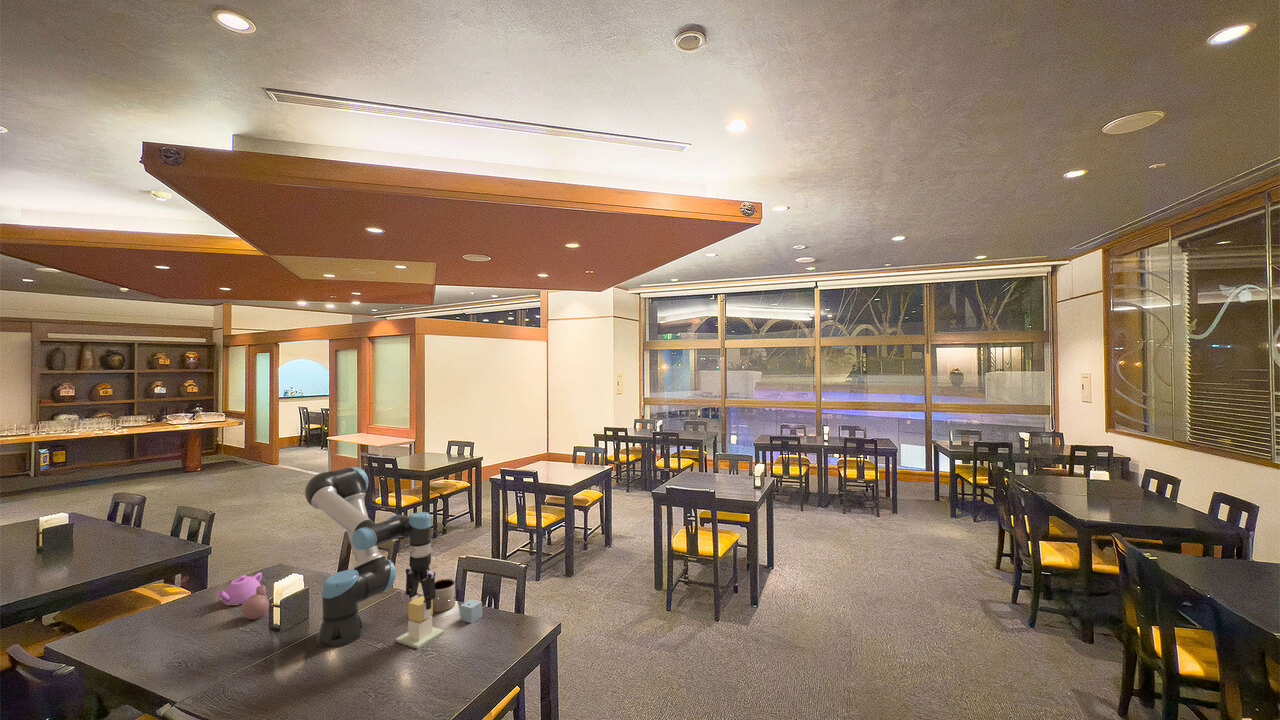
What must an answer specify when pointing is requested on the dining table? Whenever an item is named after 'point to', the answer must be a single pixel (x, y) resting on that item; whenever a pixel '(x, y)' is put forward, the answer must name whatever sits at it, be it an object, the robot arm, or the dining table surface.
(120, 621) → the dining table surface
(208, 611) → the dining table surface
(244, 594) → the teapot
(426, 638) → the baseplate
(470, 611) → the blue brick
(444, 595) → the planter
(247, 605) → the figurine
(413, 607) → the ochre brick
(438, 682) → the dining table surface
